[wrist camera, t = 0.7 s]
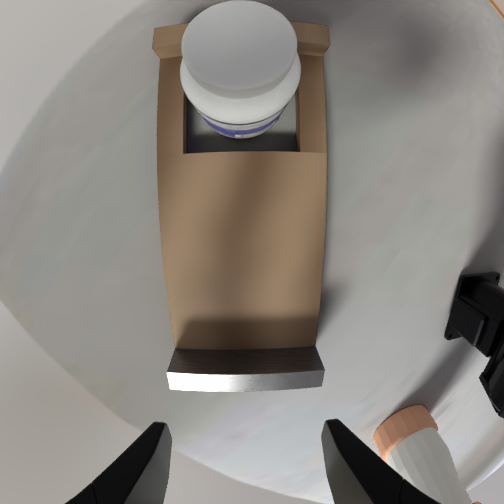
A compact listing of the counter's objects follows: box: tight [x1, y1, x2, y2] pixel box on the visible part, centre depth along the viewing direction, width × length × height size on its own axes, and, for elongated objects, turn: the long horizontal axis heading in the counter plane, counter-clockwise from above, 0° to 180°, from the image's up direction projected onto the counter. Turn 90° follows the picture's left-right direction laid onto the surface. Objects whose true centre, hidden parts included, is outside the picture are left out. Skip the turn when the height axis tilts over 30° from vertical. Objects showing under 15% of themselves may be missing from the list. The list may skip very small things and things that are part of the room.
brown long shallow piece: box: [152, 21, 330, 391], centre depth 15 cm, size 10×22×4 cm, turn 0°
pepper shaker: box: [374, 405, 481, 504], centre depth 15 cm, size 7×7×19 cm
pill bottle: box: [180, 0, 301, 138], centre depth 12 cm, size 5×5×9 cm
